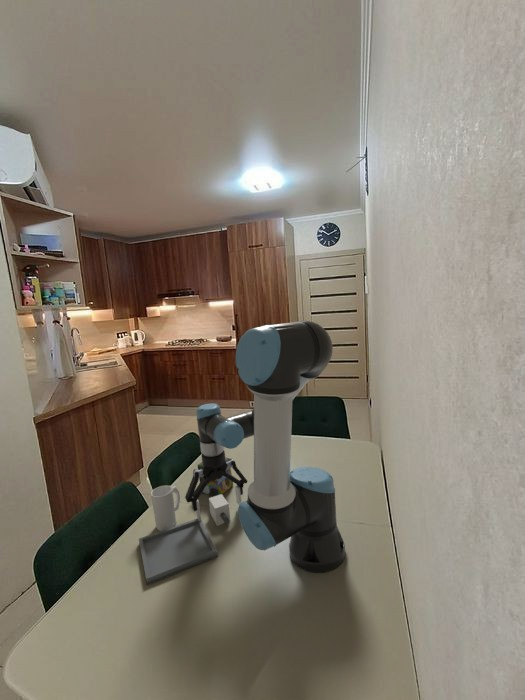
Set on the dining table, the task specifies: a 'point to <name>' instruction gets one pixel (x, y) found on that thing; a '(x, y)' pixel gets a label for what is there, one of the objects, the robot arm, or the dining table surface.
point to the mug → (165, 506)
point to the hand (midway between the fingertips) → (219, 511)
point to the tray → (175, 550)
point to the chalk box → (217, 483)
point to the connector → (219, 509)
